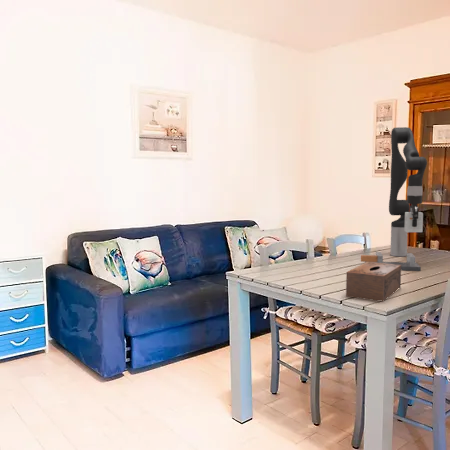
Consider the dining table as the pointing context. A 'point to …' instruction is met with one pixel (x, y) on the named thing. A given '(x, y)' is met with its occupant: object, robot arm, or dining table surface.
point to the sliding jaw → (372, 258)
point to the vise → (407, 263)
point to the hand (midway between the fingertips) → (413, 225)
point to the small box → (409, 222)
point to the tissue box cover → (373, 280)
